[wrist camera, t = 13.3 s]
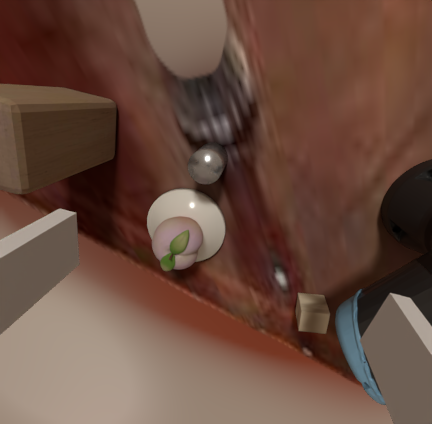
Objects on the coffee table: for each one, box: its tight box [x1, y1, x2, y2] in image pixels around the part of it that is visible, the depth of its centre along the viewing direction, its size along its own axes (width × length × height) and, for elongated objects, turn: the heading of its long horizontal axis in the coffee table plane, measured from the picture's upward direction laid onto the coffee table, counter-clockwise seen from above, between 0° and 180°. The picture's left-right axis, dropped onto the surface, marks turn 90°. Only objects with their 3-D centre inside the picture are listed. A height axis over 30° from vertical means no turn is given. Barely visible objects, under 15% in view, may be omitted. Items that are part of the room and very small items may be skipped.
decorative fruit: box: [152, 216, 203, 271], centre depth 43 cm, size 9×8×10 cm
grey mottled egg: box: [188, 142, 228, 184], centre depth 39 cm, size 5×5×7 cm
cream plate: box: [147, 188, 226, 262], centre depth 48 cm, size 15×15×2 cm
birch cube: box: [295, 293, 330, 334], centre depth 49 cm, size 5×5×5 cm
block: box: [0, 84, 117, 194], centre depth 34 cm, size 10×10×20 cm
